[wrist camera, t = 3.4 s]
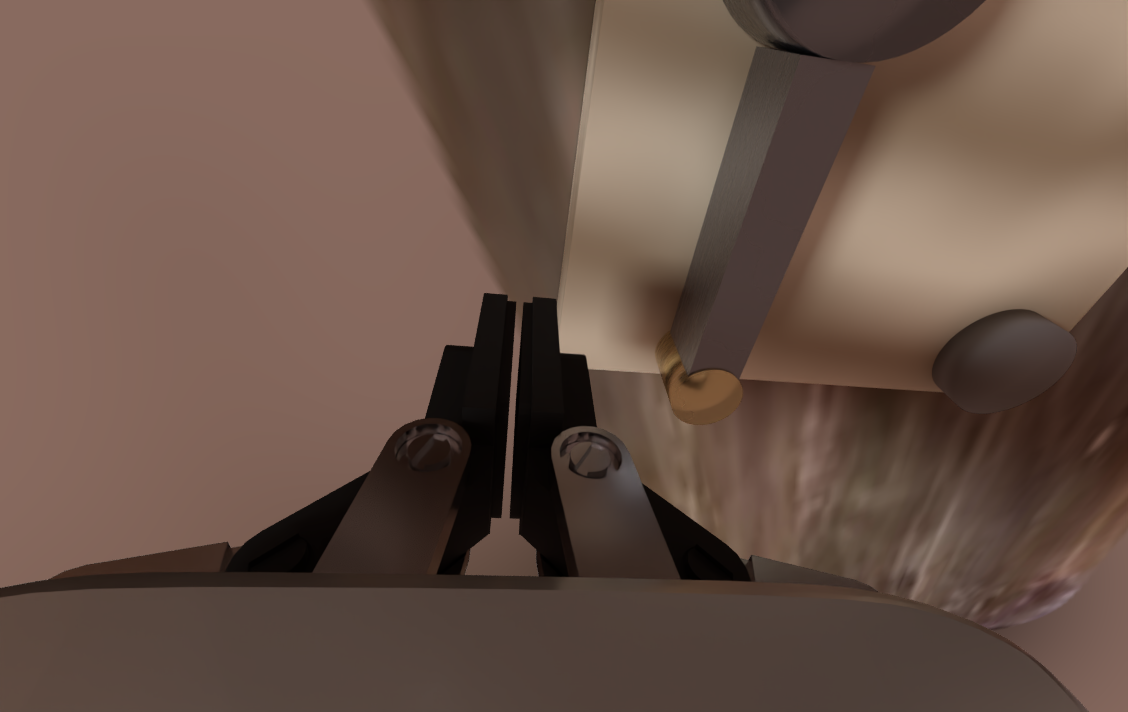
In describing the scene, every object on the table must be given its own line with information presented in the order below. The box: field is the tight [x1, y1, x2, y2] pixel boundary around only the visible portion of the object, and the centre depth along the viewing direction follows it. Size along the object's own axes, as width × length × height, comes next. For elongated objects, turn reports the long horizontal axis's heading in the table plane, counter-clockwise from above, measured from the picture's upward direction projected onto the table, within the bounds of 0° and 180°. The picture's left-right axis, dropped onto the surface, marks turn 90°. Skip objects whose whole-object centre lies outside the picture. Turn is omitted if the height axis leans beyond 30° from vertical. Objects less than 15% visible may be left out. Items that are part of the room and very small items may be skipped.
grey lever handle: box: [655, 0, 986, 425], centre depth 12 cm, size 15×5×3 cm, turn 173°
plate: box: [557, 0, 1128, 414], centre depth 13 cm, size 20×19×3 cm
